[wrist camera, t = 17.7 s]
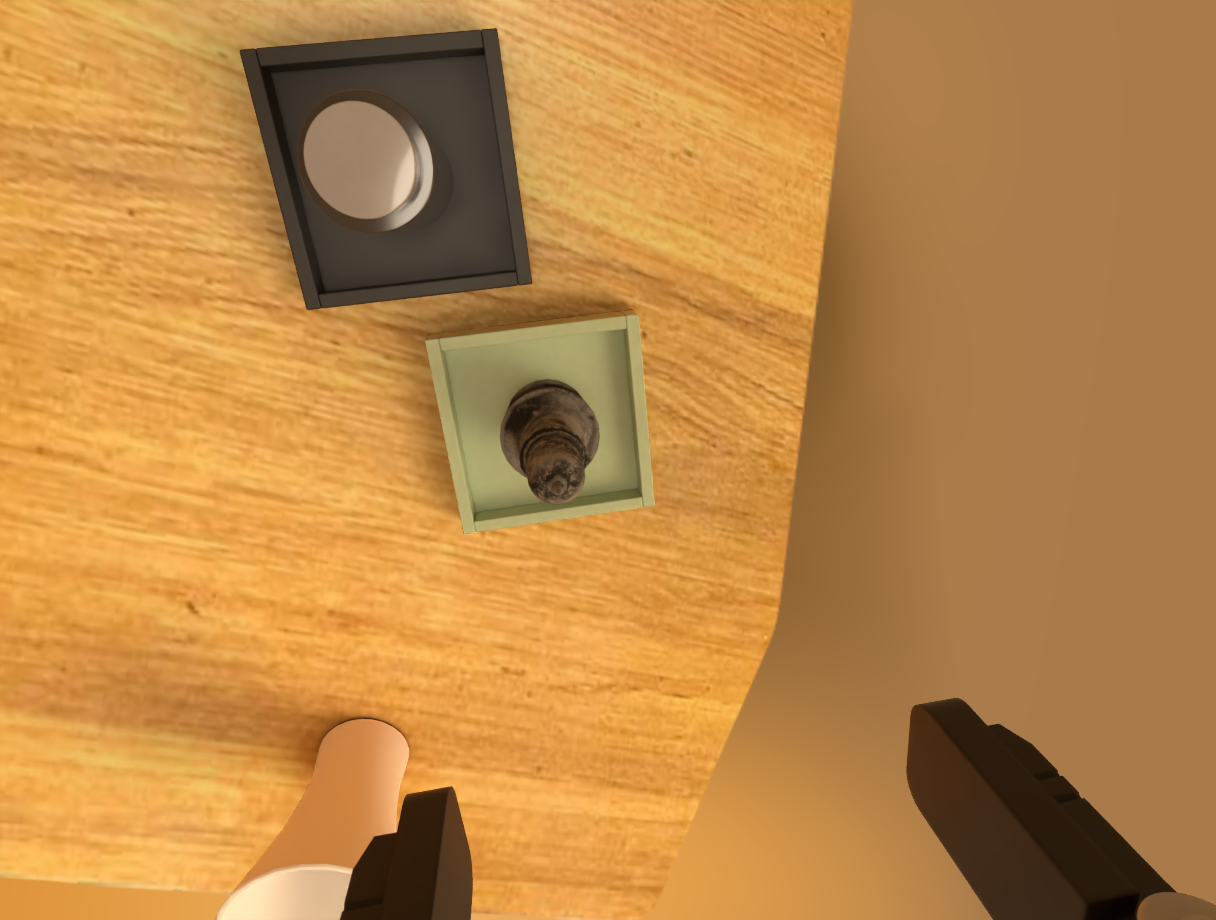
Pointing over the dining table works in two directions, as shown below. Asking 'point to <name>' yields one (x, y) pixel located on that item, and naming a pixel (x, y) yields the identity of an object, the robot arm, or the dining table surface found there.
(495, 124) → the dark tray
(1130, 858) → the robot arm
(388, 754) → the cup
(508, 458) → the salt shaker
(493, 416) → the light tray
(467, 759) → the dining table surface
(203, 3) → the dining table surface
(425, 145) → the brown jar with lid
